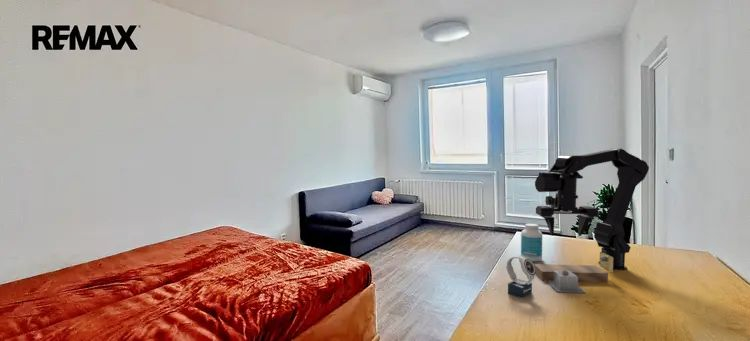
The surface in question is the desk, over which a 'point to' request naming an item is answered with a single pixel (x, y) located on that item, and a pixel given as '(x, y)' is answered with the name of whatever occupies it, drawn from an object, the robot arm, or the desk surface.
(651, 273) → the desk surface
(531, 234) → the pill bottle
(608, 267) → the tan wooden flat block
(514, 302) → the desk surface
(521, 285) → the watch
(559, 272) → the grey knobbed cube
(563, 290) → the pad
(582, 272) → the body
